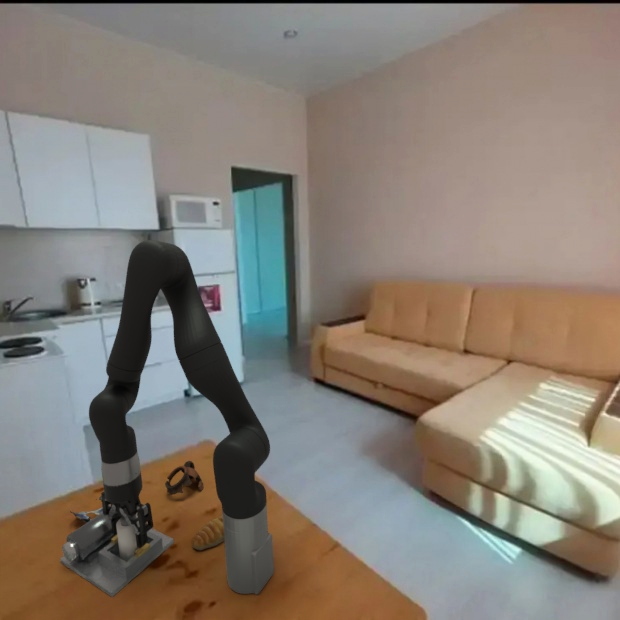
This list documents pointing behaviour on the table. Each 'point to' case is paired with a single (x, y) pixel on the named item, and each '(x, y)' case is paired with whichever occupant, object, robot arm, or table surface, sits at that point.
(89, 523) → the motor unit
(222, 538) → the pastry
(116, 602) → the table surface
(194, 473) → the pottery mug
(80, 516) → the snack package
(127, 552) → the white cylinder roll
